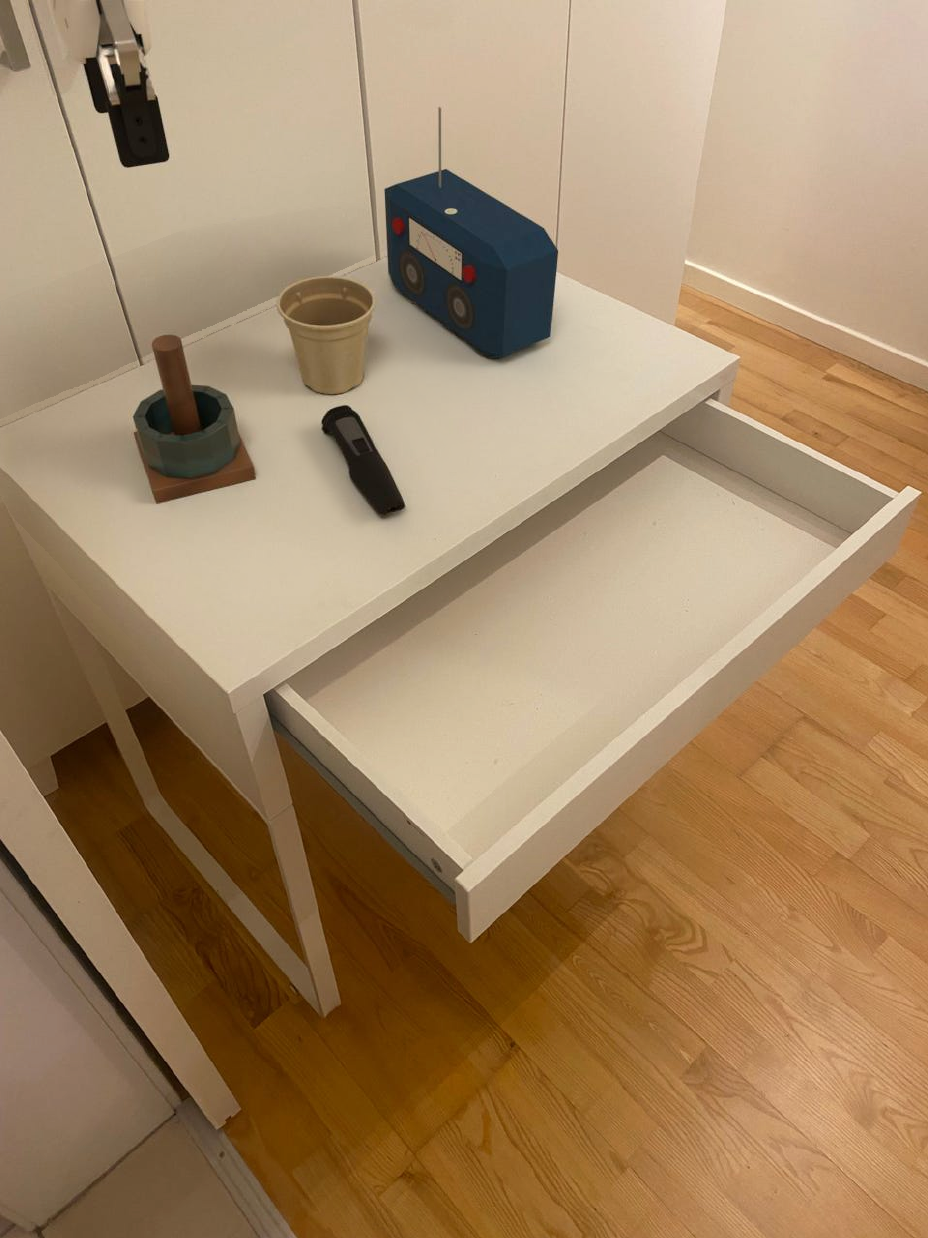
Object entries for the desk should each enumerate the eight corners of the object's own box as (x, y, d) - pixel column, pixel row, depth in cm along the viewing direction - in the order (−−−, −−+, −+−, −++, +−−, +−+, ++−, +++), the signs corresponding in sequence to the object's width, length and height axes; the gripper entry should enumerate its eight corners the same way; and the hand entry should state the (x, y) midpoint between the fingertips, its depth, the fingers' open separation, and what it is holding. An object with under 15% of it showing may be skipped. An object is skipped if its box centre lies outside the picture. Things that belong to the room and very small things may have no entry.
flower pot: (362, 344, 102) (356, 267, 95) (393, 392, 96) (390, 314, 90) (276, 362, 99) (264, 285, 93) (303, 413, 93) (292, 335, 87)
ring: (156, 488, 83) (145, 451, 80) (135, 433, 88) (125, 397, 85) (250, 463, 86) (243, 427, 83) (225, 411, 91) (217, 375, 88)
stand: (156, 504, 84) (120, 383, 75) (136, 444, 90) (101, 325, 80) (256, 479, 87) (233, 359, 77) (231, 422, 92) (207, 304, 83)
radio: (378, 287, 110) (368, 99, 95) (440, 264, 113) (440, 81, 98) (491, 372, 99) (499, 176, 84) (555, 345, 102) (574, 152, 87)
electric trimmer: (374, 533, 83) (372, 505, 80) (318, 428, 92) (315, 401, 89) (415, 522, 84) (414, 494, 81) (356, 419, 93) (354, 392, 90)
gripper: (-27, -203, 58) (57, 98, 71) (7, -144, 48) (98, 196, 61) (99, -209, 61) (158, 84, 73) (157, -154, 50) (215, 176, 63)
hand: (131, 134), depth 67 cm, fingers open, 9 cm apart
